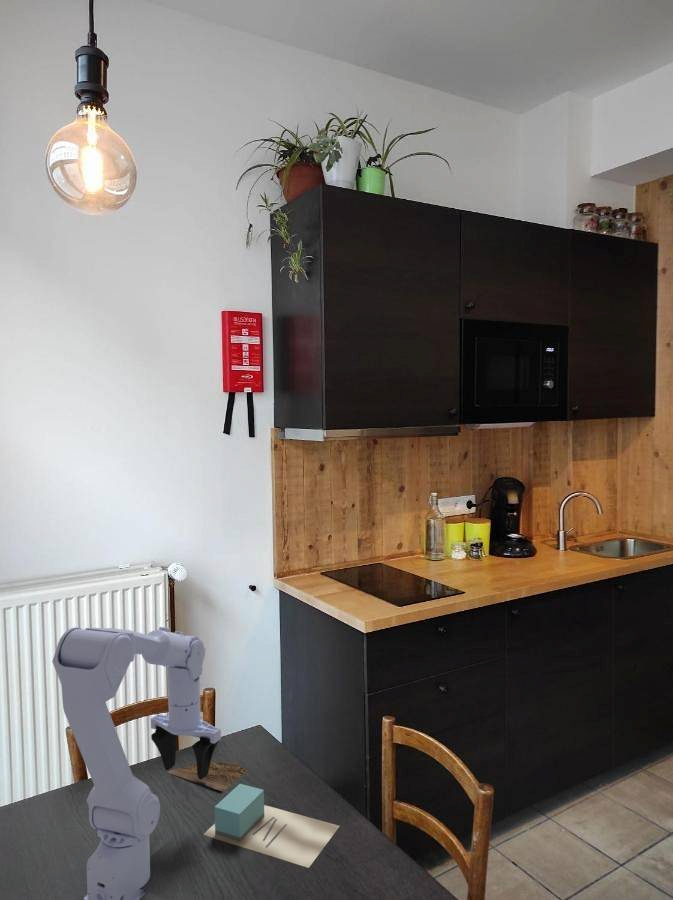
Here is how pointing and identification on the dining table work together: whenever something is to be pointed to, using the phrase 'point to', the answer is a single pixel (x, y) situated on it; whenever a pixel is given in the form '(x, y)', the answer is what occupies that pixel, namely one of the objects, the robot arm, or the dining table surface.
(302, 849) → the birch board
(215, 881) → the dining table surface
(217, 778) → the wooden fragment
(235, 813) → the block
